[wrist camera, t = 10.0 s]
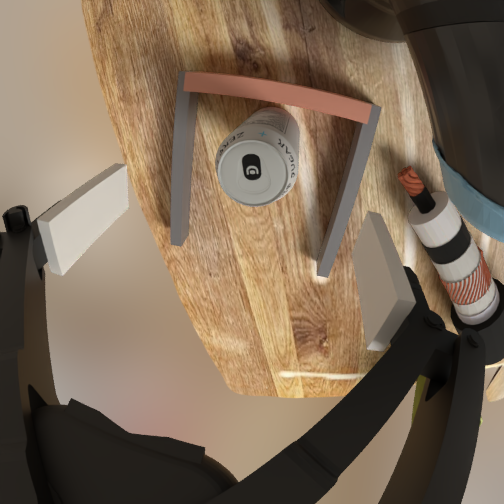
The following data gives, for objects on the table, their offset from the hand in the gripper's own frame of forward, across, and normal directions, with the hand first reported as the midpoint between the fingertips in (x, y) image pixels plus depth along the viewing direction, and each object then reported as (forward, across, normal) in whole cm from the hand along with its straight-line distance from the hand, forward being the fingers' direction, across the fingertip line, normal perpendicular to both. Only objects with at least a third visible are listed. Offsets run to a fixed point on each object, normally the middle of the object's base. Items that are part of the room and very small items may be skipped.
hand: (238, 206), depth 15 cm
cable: (+20, +29, -10) cm, 37 cm away
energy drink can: (+20, 0, 0) cm, 20 cm away
